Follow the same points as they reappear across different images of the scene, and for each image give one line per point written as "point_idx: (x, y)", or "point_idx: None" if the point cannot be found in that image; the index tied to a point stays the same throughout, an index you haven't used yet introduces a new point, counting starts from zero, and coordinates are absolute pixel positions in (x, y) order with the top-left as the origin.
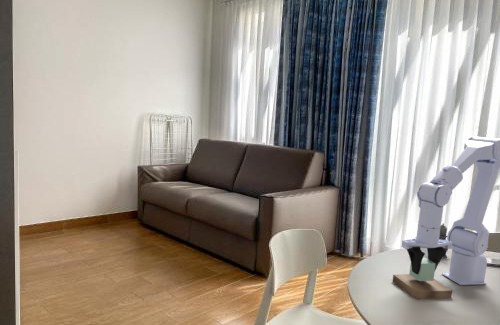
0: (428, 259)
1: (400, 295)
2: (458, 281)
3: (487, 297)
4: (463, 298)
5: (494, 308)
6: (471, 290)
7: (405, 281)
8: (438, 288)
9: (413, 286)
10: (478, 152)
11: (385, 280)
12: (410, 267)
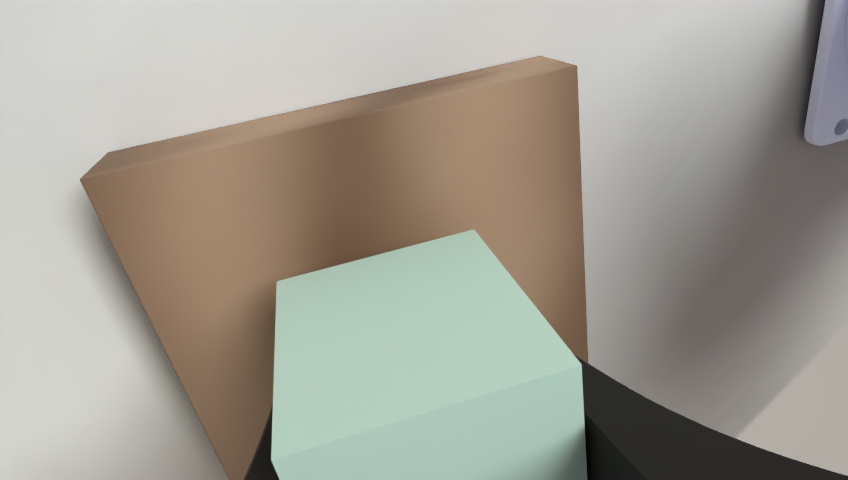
0: (590, 426)
1: (124, 446)
2: (840, 93)
3: (821, 309)
4: (641, 364)
5: None
6: (811, 218)
7: (201, 348)
8: None
9: (254, 436)
10: None
11: (8, 142)
12: (277, 341)
